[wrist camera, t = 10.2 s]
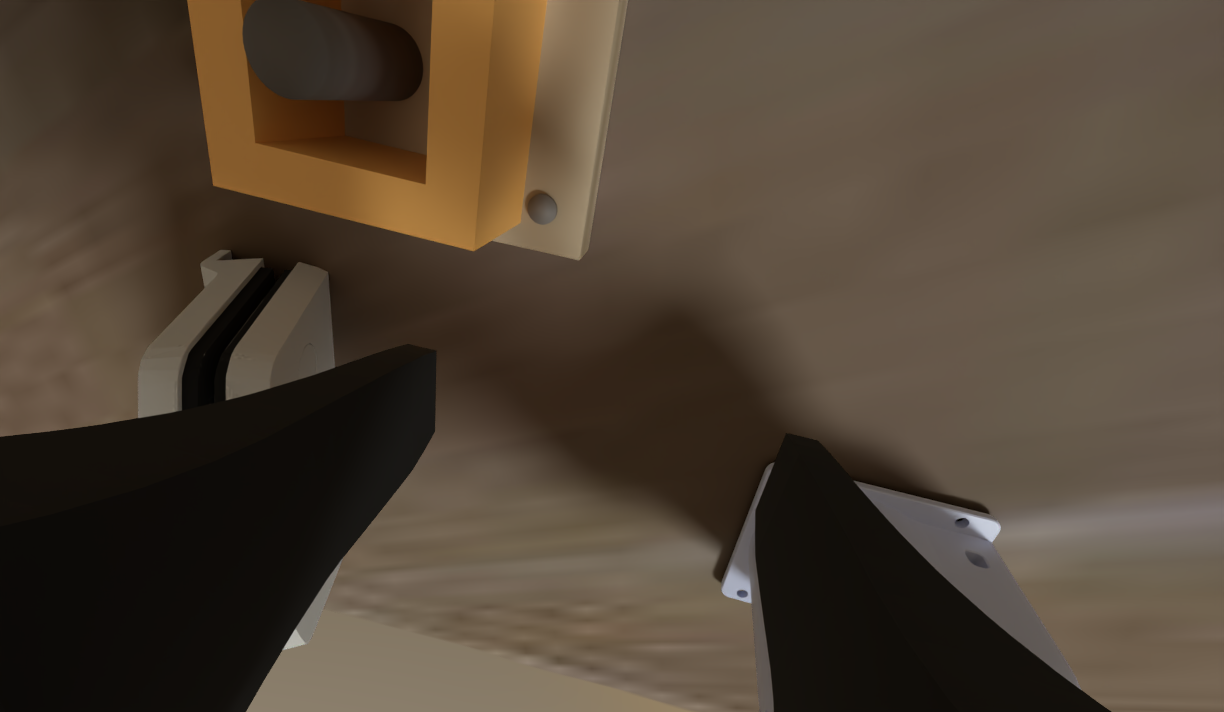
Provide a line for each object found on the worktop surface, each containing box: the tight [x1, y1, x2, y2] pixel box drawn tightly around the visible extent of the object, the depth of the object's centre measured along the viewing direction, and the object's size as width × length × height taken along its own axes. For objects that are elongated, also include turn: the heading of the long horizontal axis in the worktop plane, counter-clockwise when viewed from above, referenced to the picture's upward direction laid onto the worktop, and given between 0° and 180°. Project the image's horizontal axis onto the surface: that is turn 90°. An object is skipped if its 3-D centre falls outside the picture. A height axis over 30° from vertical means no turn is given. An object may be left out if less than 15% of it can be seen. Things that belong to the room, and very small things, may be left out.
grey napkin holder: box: [138, 250, 342, 650], centre depth 23 cm, size 17×5×10 cm, turn 170°
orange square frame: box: [187, 0, 547, 251], centre depth 15 cm, size 8×8×4 cm
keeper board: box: [242, 0, 628, 260], centre depth 16 cm, size 14×10×6 cm
